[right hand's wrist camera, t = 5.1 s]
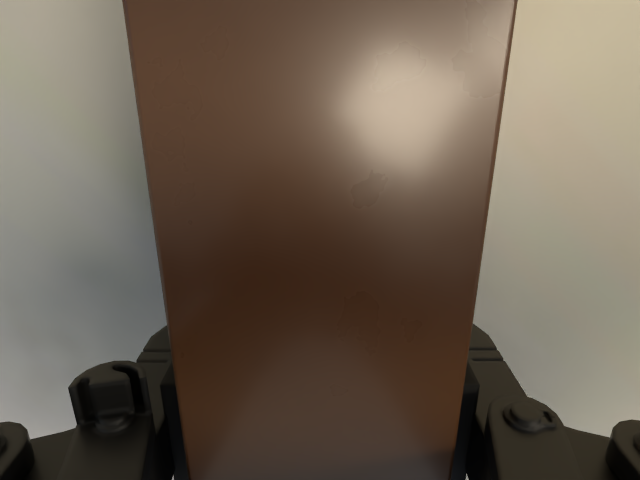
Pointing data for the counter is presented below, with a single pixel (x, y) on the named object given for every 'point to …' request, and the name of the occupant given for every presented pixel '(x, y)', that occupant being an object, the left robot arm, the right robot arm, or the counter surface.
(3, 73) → the counter surface
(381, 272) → the bar
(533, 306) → the counter surface
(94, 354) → the counter surface
